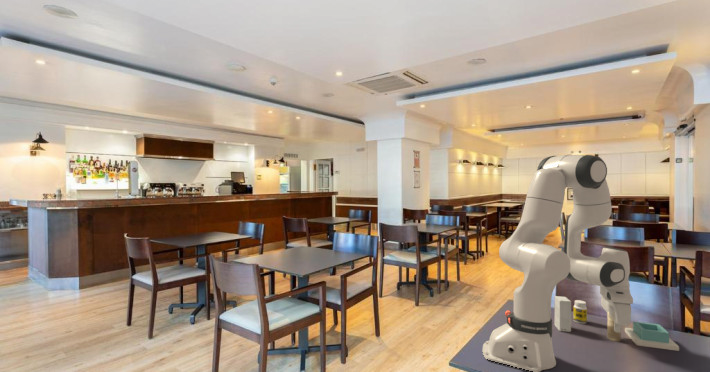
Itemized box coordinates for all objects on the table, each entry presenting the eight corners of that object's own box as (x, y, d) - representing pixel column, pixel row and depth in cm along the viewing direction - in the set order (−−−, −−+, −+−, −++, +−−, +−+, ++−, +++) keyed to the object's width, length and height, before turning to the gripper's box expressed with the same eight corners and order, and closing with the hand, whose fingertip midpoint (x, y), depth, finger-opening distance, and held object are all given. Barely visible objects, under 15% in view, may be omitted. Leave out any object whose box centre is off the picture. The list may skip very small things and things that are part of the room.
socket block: (636, 345, 127) (636, 331, 127) (624, 331, 138) (625, 318, 138) (679, 350, 122) (679, 336, 122) (663, 336, 134) (663, 323, 133)
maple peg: (609, 340, 130) (609, 313, 130) (605, 336, 134) (606, 309, 134) (622, 342, 129) (622, 315, 129) (618, 337, 133) (618, 311, 133)
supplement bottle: (574, 323, 146) (574, 302, 146) (572, 318, 151) (572, 299, 150) (588, 324, 145) (588, 304, 144) (585, 320, 149) (585, 300, 149)
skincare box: (571, 332, 138) (571, 301, 137) (559, 331, 139) (559, 300, 138) (565, 325, 144) (565, 296, 143) (554, 325, 144) (554, 295, 144)
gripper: (596, 282, 142) (596, 316, 142) (613, 298, 123) (612, 338, 123) (615, 283, 140) (615, 318, 140) (635, 301, 121) (634, 341, 121)
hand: (614, 328), depth 132 cm, fingers open, 5 cm apart
